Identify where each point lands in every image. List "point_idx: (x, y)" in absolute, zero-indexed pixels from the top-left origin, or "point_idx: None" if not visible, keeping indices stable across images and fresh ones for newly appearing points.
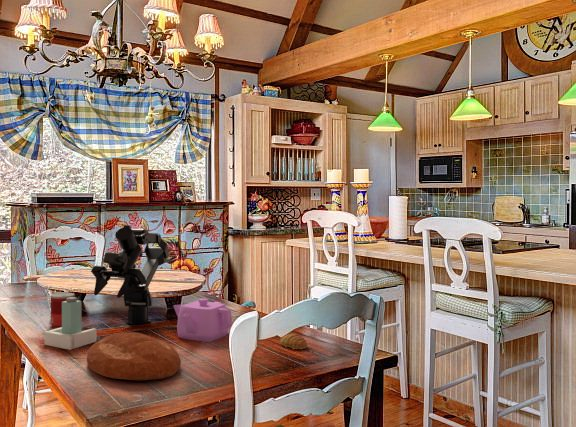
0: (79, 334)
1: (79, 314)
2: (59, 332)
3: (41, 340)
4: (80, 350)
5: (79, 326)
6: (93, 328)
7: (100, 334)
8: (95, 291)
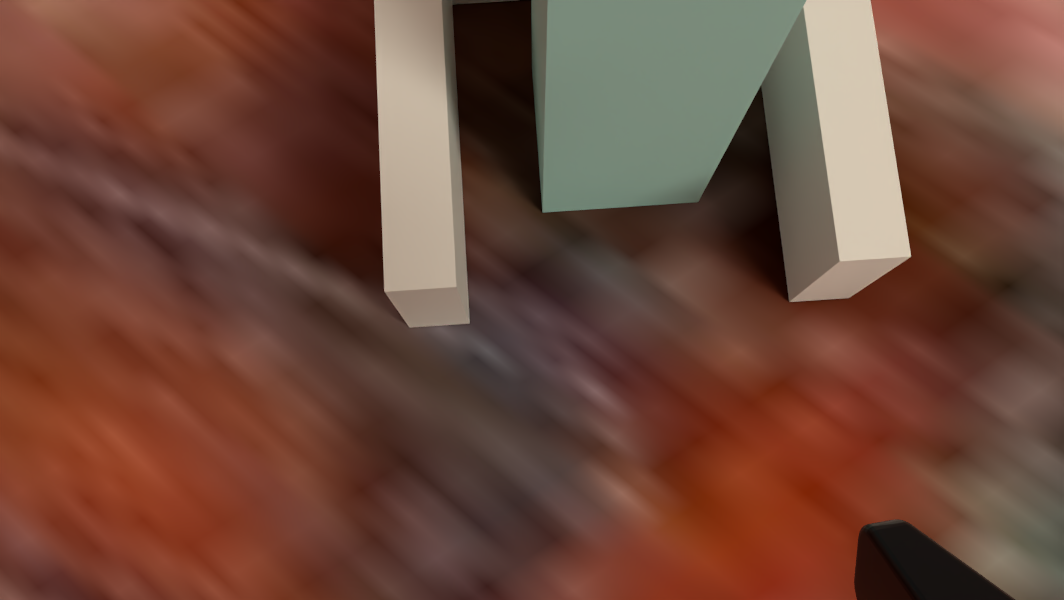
0: (376, 6)
1: (544, 7)
2: None
3: (984, 10)
4: (280, 5)
5: (541, 100)
6: (438, 282)
7: (641, 590)
8: (910, 574)
